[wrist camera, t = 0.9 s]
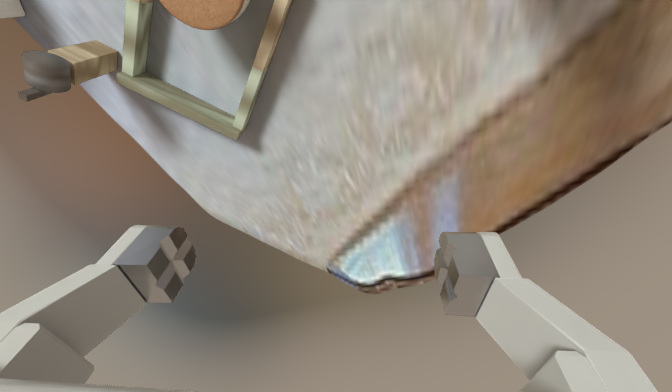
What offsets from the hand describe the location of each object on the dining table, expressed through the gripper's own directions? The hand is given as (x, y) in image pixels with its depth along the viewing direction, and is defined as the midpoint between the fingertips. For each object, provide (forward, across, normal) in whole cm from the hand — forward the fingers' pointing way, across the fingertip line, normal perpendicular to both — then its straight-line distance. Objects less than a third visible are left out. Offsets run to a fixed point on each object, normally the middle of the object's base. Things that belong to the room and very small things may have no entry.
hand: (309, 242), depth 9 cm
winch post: (+38, +36, +1) cm, 52 cm away
